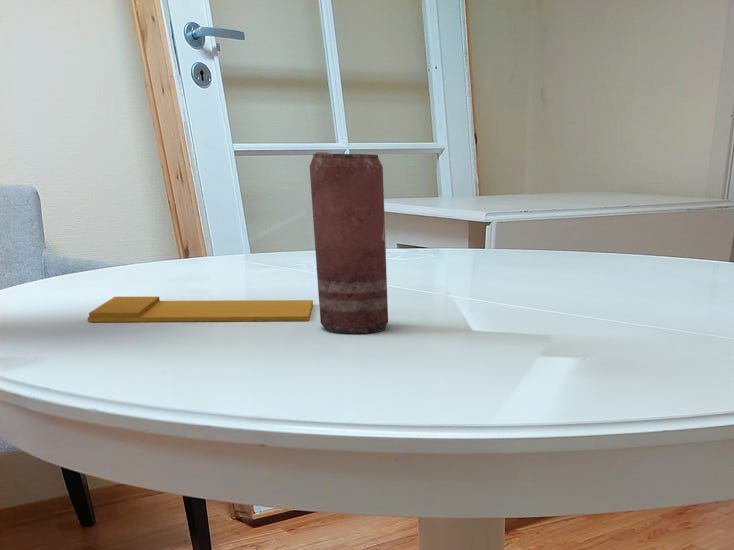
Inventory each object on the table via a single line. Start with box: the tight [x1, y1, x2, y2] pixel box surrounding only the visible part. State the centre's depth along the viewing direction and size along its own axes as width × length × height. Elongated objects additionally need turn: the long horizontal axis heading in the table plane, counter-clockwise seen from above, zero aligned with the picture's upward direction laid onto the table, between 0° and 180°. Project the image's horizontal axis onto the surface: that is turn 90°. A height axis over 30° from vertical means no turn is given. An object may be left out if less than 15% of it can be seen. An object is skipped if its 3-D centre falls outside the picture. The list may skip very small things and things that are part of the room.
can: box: [309, 151, 389, 335], centre depth 77 cm, size 6×6×14 cm
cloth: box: [87, 296, 314, 323], centre depth 87 cm, size 20×10×1 cm, turn 97°
